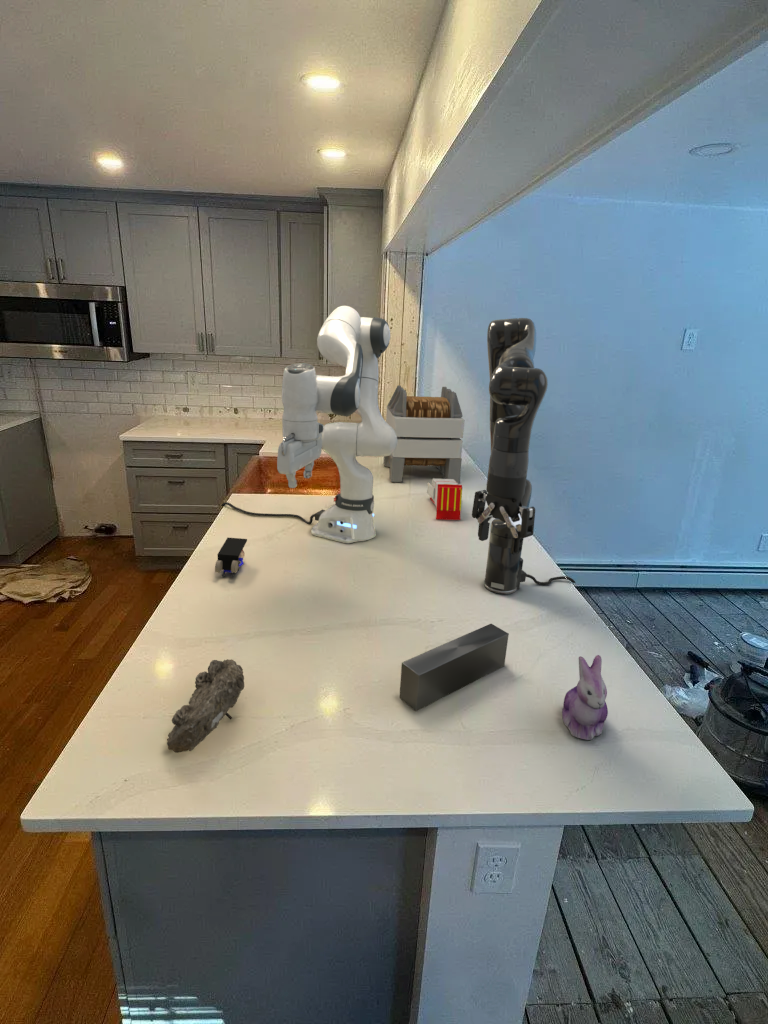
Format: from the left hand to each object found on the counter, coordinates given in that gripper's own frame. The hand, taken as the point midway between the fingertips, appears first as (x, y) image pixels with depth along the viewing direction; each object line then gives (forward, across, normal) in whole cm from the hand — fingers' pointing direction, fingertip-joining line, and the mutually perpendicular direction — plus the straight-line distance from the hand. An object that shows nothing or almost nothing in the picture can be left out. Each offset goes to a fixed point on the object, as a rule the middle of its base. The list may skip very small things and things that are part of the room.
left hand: (300, 482), depth 148 cm
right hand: (+2, -20, -53) cm, 57 cm away
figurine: (+31, -33, -74) cm, 87 cm away
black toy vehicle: (+31, +3, +24) cm, 39 cm away
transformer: (+31, +129, -5) cm, 133 cm away
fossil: (+31, -54, -6) cm, 63 cm away
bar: (+31, -28, -48) cm, 63 cm away
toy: (+31, +83, -25) cm, 92 cm away
